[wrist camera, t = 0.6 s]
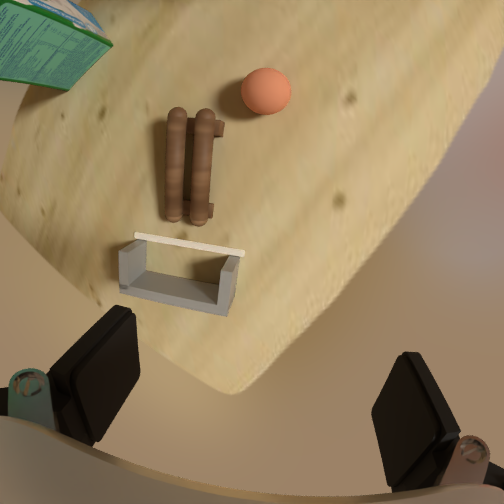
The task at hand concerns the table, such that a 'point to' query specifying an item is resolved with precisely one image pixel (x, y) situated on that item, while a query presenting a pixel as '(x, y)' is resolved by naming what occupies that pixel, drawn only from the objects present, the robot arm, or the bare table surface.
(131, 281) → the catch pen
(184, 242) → the line
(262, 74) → the ball
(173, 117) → the brown piece
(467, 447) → the robot arm
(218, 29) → the table surface
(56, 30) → the milk carton
